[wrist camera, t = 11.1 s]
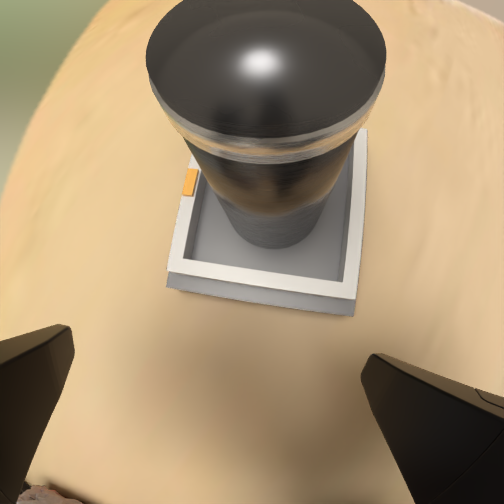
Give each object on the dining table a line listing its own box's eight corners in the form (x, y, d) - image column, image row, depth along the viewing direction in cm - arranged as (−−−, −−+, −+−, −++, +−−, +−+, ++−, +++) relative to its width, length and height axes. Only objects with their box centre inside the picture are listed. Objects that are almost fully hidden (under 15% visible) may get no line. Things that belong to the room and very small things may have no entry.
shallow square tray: (359, 147, 21) (374, 116, 17) (344, 315, 20) (361, 317, 15) (212, 129, 23) (200, 96, 18) (178, 289, 21) (155, 285, 17)
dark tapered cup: (340, 190, 18) (418, 26, 6) (288, 270, 18) (315, 186, 5) (260, 143, 19) (237, -39, 7) (205, 216, 19) (96, 75, 6)
